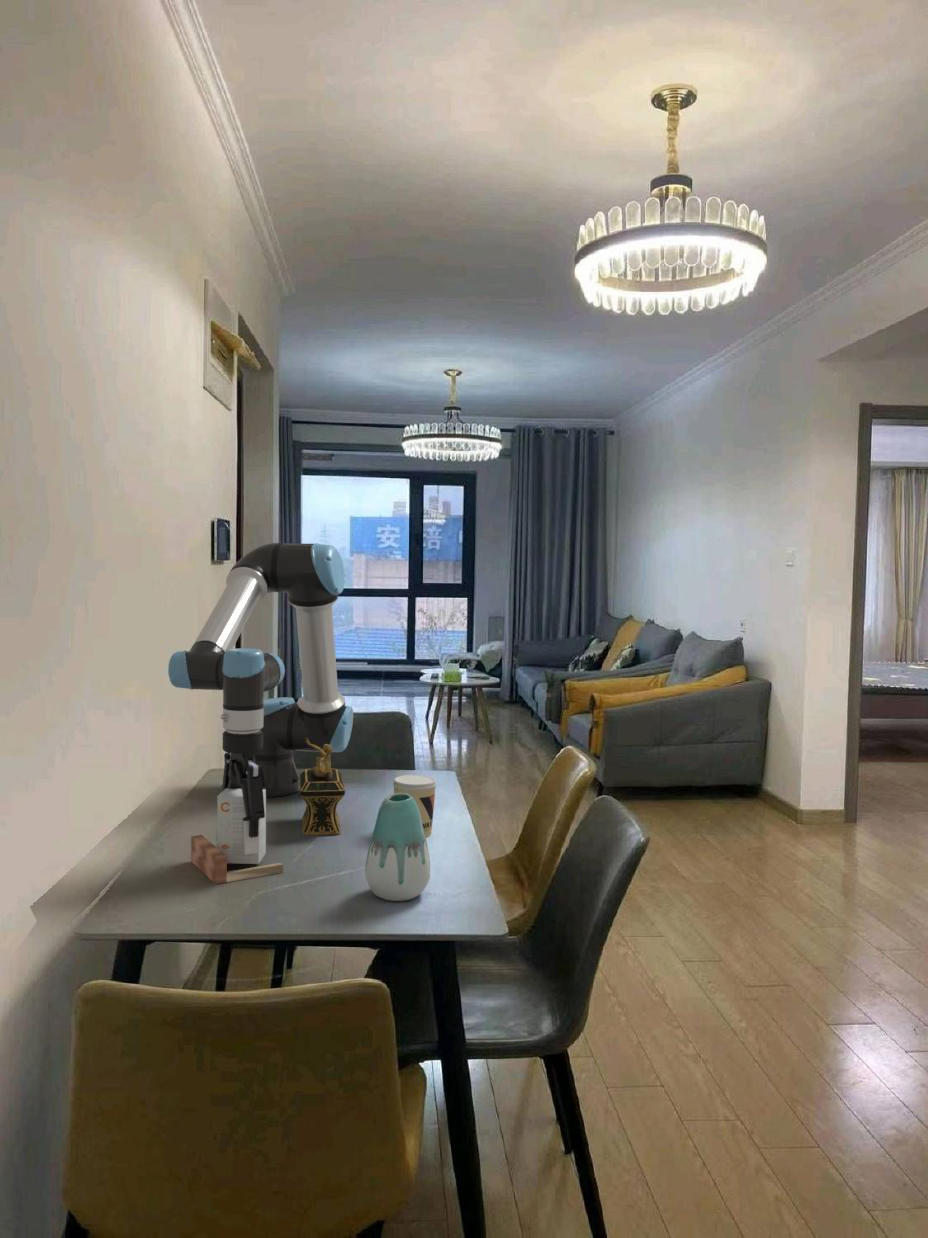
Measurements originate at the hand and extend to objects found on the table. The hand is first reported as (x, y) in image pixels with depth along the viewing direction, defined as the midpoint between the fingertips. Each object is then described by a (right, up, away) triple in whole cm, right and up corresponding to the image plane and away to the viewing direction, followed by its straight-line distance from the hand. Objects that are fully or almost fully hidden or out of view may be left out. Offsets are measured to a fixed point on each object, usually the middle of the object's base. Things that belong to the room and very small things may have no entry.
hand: (241, 845), depth 178 cm
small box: (0, -3, 0) cm, 3 cm away
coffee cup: (+32, -3, +24) cm, 40 cm away
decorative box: (+11, -3, +26) cm, 28 cm away
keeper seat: (0, -4, 0) cm, 4 cm away
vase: (+31, -6, -13) cm, 34 cm away
